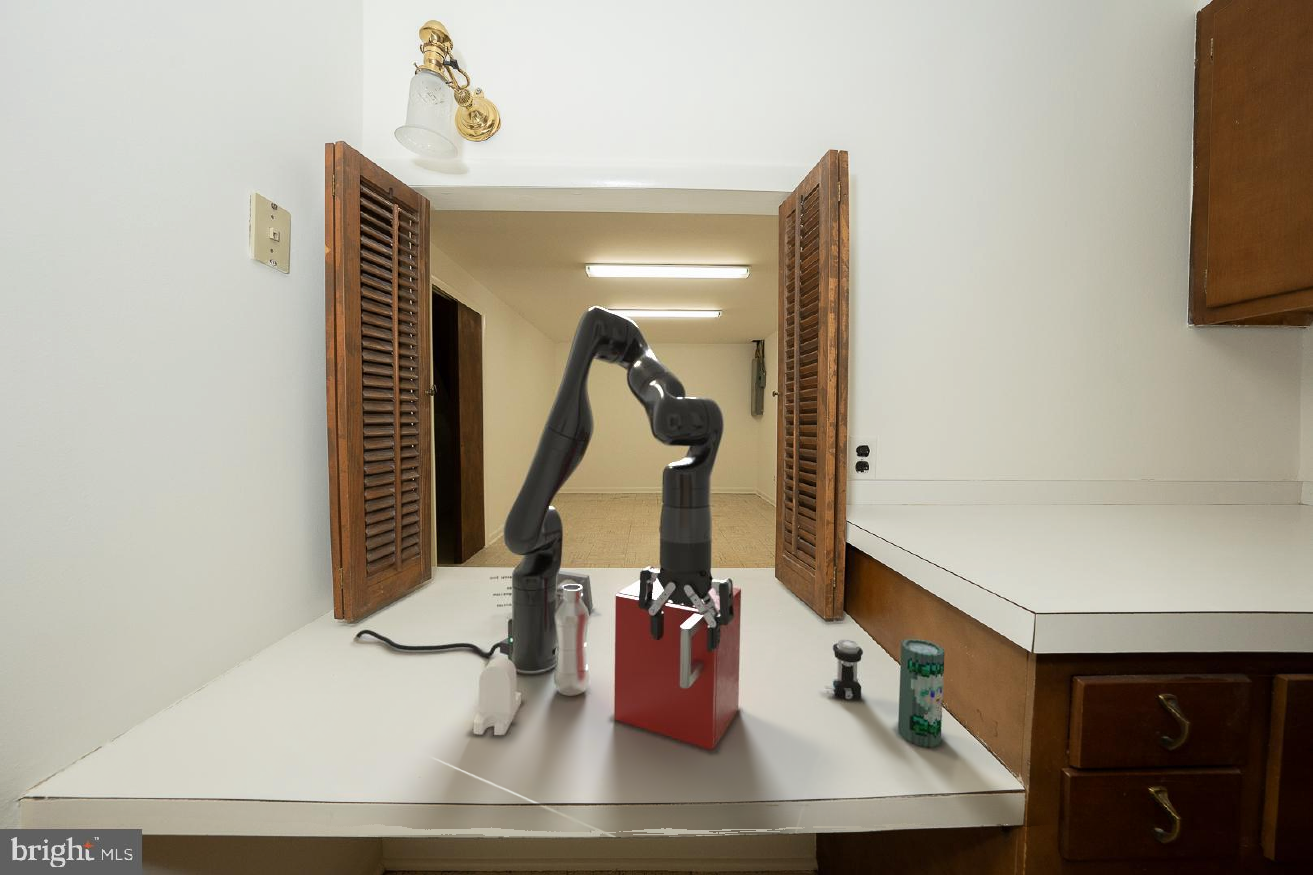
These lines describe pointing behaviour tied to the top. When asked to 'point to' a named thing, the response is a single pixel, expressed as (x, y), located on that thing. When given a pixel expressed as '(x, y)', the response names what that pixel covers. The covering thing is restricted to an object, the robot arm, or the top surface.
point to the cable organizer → (497, 696)
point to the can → (921, 692)
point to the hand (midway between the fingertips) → (684, 643)
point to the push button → (846, 670)
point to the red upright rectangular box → (718, 658)
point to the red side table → (665, 673)
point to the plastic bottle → (571, 642)
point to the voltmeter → (567, 579)
